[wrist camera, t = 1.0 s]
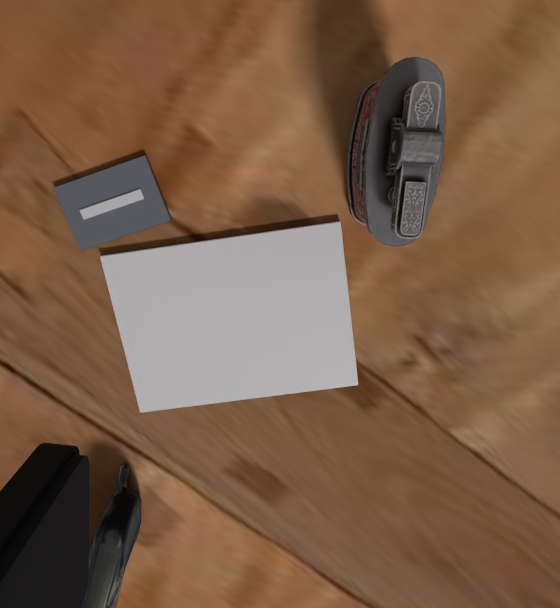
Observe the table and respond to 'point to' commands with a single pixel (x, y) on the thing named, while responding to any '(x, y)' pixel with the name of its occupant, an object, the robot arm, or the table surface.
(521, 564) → the table surface
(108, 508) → the dark elongated piece
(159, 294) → the paper
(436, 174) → the lighter
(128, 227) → the plate
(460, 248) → the table surface
